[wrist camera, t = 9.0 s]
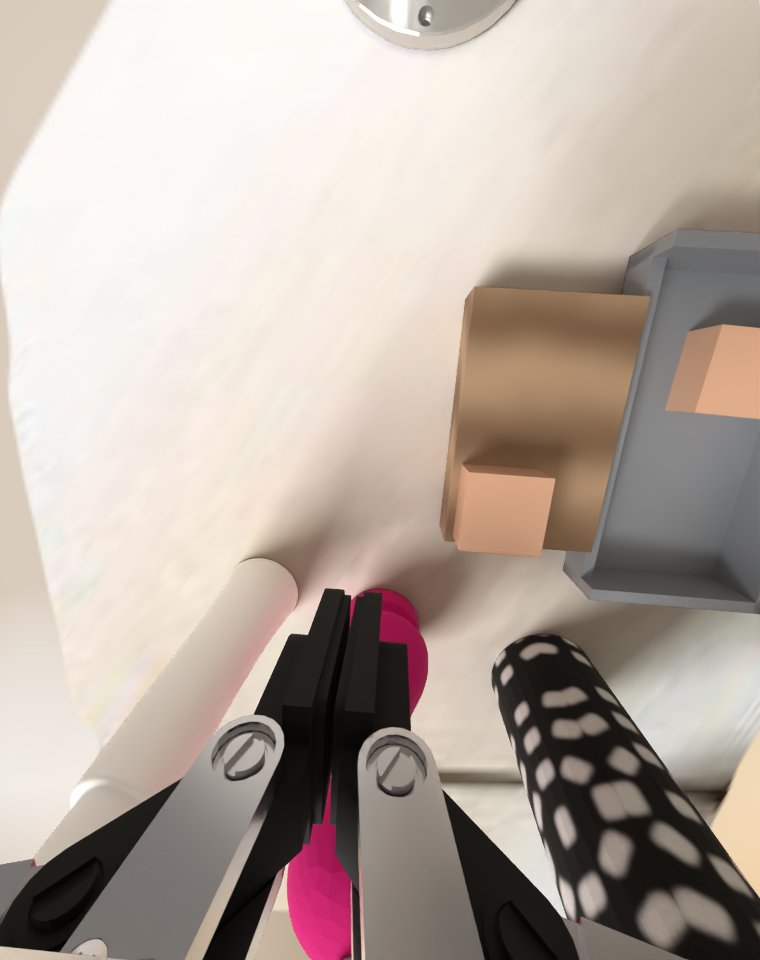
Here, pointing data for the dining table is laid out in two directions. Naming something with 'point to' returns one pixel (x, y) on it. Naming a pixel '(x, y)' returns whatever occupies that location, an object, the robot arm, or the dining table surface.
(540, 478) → the tile
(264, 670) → the dining table surface
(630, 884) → the spotted tube
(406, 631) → the pepper mill
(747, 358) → the tile
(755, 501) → the box
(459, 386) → the board
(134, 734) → the cosmetic bottle
